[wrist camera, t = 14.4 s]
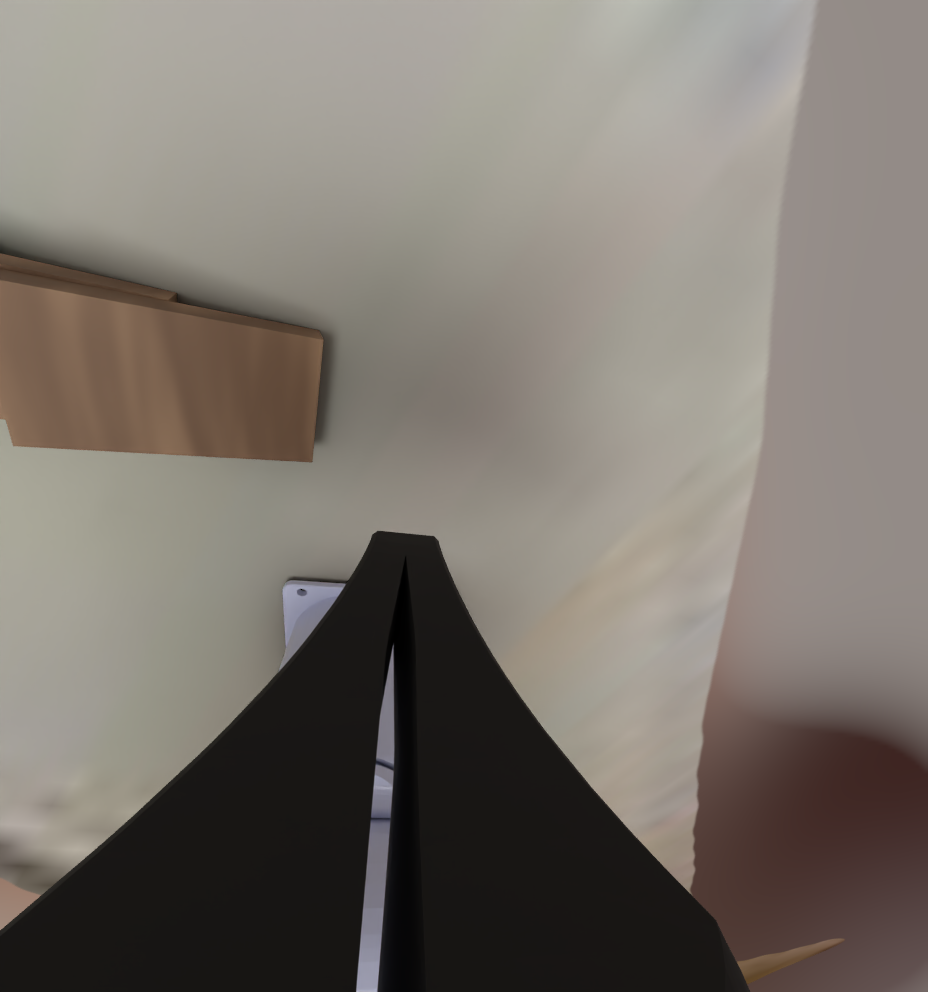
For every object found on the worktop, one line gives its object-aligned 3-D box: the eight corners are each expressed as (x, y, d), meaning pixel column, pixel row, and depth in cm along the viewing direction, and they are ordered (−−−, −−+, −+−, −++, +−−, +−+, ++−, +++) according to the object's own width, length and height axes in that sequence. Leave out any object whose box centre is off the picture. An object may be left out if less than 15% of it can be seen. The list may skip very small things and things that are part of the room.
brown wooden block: (323, 339, 15) (-37, 273, 11) (312, 462, 17) (13, 446, 13) (318, 330, 16) (-6, 267, 12) (309, 445, 18) (34, 426, 14)
